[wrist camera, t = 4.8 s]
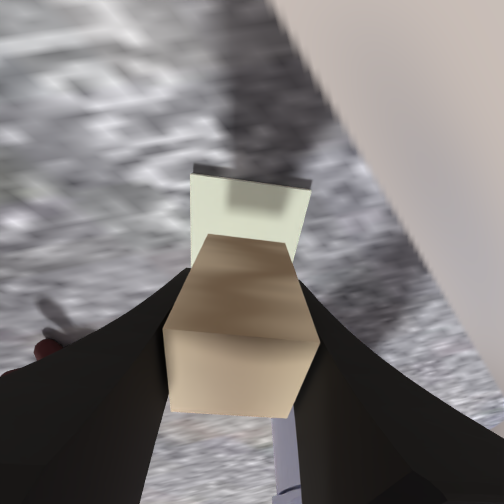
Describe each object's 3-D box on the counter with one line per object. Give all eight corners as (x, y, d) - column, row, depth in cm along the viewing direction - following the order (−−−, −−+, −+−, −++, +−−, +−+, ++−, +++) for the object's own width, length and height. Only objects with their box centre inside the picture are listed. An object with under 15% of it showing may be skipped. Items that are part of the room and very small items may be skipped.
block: (285, 242, 11) (320, 342, 5) (271, 301, 12) (287, 418, 7) (208, 233, 10) (162, 328, 5) (205, 294, 12) (170, 411, 7)
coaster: (309, 189, 14) (311, 190, 13) (285, 282, 18) (286, 286, 17) (192, 173, 13) (190, 174, 13) (192, 272, 17) (191, 276, 17)
